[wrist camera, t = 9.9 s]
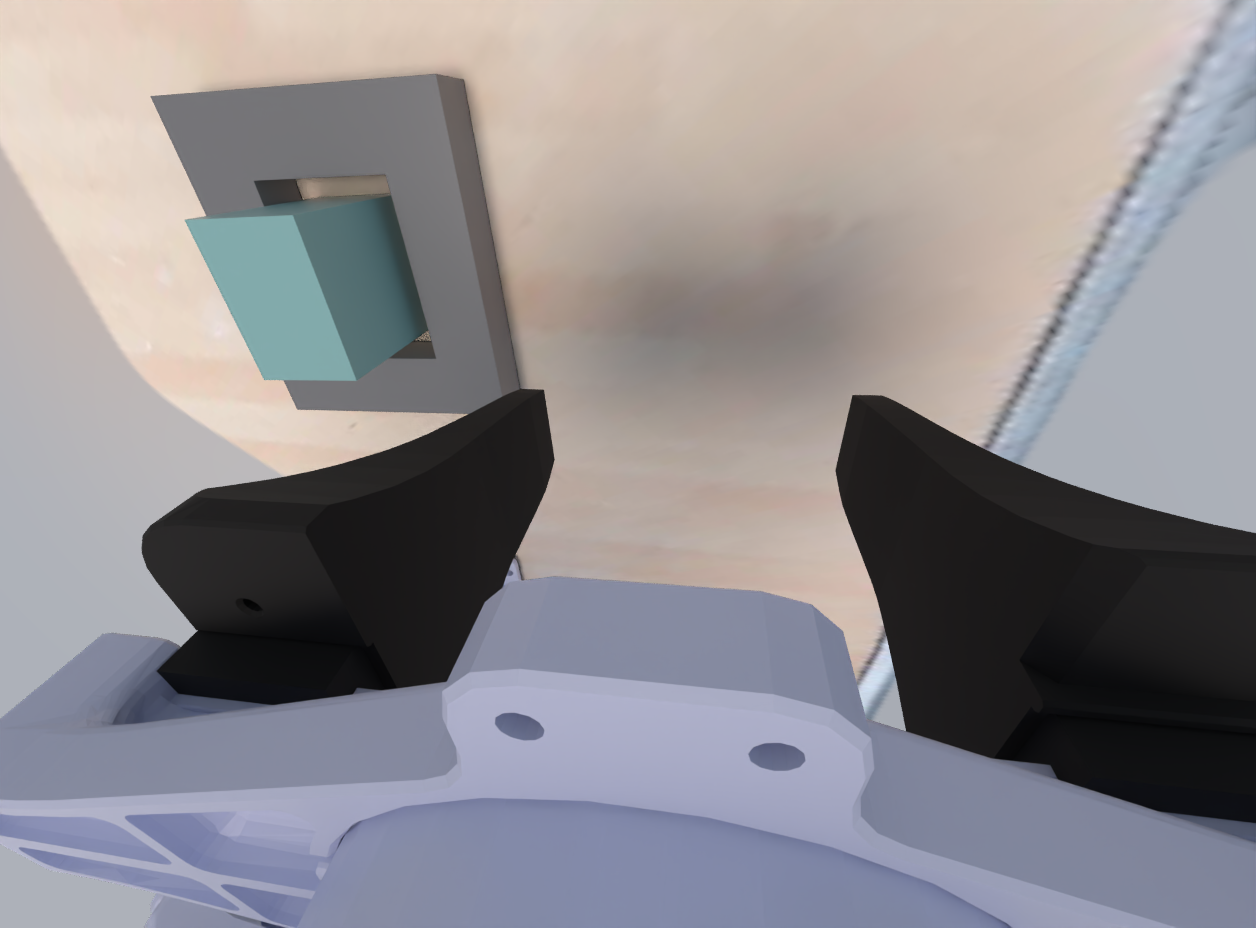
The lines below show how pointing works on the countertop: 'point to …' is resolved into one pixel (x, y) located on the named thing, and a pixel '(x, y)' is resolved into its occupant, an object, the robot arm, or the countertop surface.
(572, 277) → the countertop surface
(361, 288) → the plug
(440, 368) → the socket plate
